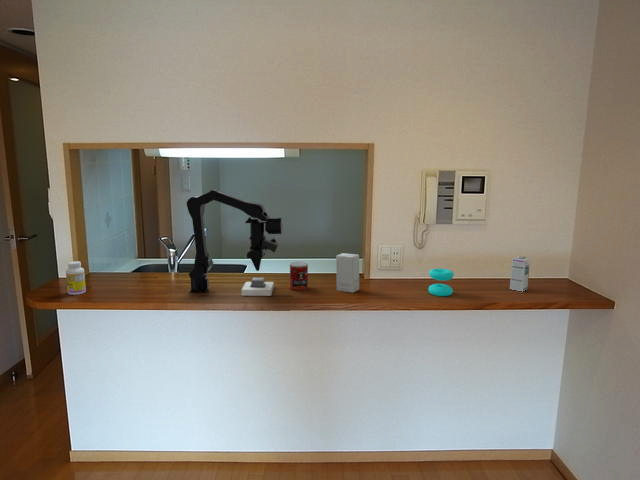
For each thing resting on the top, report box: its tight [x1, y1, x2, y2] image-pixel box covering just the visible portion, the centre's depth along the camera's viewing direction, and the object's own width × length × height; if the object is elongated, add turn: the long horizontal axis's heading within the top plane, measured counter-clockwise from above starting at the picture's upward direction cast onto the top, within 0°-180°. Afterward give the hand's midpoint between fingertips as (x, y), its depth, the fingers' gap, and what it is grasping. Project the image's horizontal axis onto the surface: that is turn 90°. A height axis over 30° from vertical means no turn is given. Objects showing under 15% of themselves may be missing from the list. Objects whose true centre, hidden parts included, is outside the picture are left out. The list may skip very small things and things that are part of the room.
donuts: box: [427, 268, 455, 297], centre depth 186 cm, size 10×10×10 cm
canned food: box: [289, 261, 309, 292], centre depth 191 cm, size 8×8×11 cm
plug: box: [250, 277, 266, 288], centre depth 186 cm, size 5×4×5 cm
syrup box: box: [509, 255, 531, 293], centre depth 192 cm, size 6×6×14 cm
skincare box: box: [335, 252, 360, 293], centre depth 189 cm, size 8×7×16 cm
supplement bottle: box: [65, 260, 87, 296], centre depth 181 cm, size 7×7×13 cm
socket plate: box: [241, 281, 275, 297], centre depth 187 cm, size 12×12×2 cm
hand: (257, 270), depth 185 cm, fingers closed
